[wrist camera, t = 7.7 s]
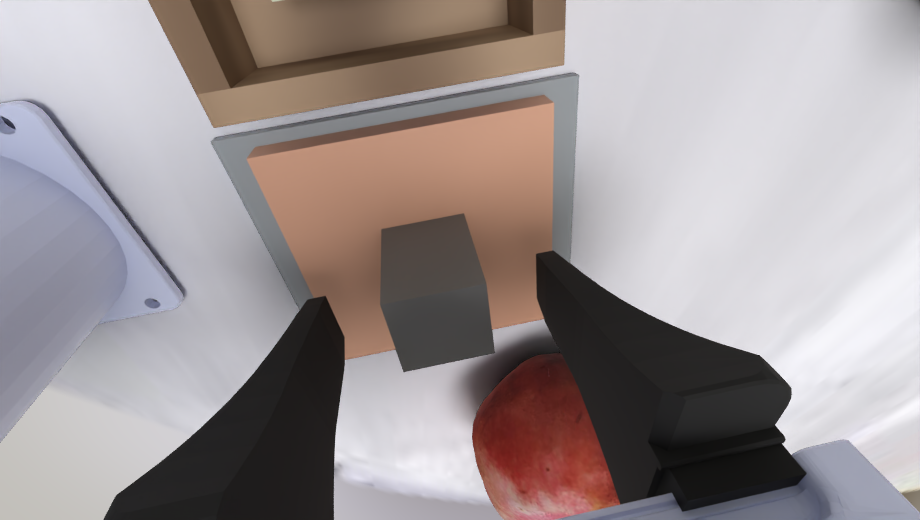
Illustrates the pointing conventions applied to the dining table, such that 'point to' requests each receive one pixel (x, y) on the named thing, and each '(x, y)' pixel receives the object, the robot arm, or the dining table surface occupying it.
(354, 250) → the lid
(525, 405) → the fruit
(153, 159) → the dining table surface
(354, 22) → the box
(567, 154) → the mat
